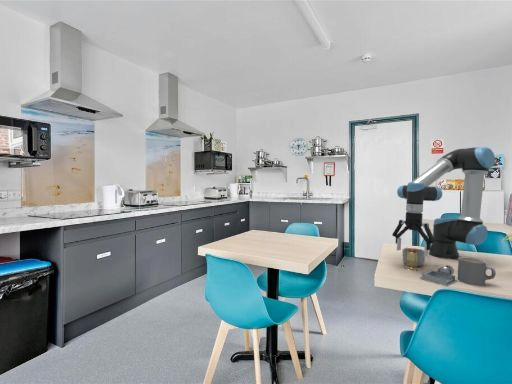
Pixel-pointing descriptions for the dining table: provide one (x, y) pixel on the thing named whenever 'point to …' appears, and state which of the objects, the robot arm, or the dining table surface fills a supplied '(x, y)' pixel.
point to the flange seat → (440, 276)
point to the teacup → (420, 256)
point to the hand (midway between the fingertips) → (411, 253)
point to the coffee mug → (473, 271)
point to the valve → (412, 259)
